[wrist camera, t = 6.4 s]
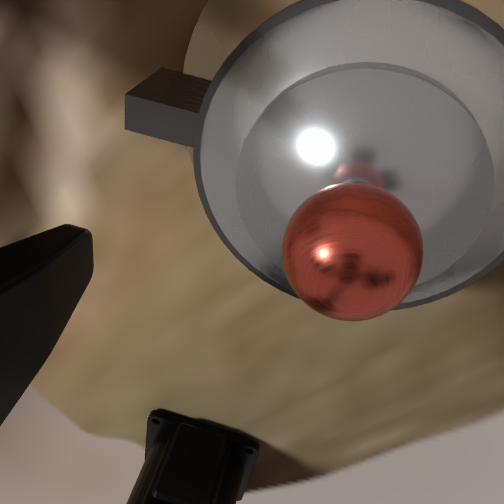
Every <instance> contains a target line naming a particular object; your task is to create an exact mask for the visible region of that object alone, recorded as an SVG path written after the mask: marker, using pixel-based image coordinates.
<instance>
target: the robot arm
mask: <svg viewBox="0 0 504 504" xmlns="http://www.w3.org/2000/svg"><path fill="white" fill-rule="evenodd" d="M93 269H94V263H93V239H92V234H91V232H90V231H89V230H87V229H85V228H81V227H78V226H75V225H71V224H64V225H61V226H58V227H55V228H53V229H50V230H47V231H44V232H42V233H39V234H36V235H33V236H31V237H28V238H25V239H23V240H20V241H17V242H14V243H12V244H9V245H6V246H3V247H1V248H0V426H1V424H2V423H3V422H4V420H5V419H6V417H7V416H8V414H9V413H10V412H11V410H12V408H13V407H14V406H15V404H16V403H17V402H18V400H19V399H20V397H21V396H22V394H23V393H24V391H25V390H26V389H27V387H28V386H29V384H30V383H31V381H32V380H33V379H34V377H35V376H36V374H37V373H38V371H39V370H40V368H41V367H42V366H43V364H44V363H45V361H46V360H47V358H48V356H49V355H50V353H51V352H52V350H53V348H54V346H55V345H56V343H57V341H58V339H59V337H60V336H61V334H62V332H63V330H64V328H65V326H66V324H67V323H68V321H69V319H70V317H71V315H72V313H73V311H74V310H75V308H76V306H77V304H78V302H79V300H80V299H81V297H82V295H83V293H84V291H85V289H86V287H87V286H88V284H89V282H90V280H91V277H92V274H93ZM258 451H259V444H258V443H257V442H255V441H253V440H250V439H247V438H244V437H241V436H237V435H234V434H231V433H228V432H225V431H222V430H218V429H215V428H212V427H209V426H206V425H203V424H199V423H196V422H193V421H190V420H187V419H184V418H180V417H177V416H174V415H171V414H168V413H165V412H161V411H158V410H153V411H151V413H150V415H149V417H148V421H147V435H146V448H145V462H144V465H143V467H142V469H141V471H140V474H139V476H138V478H137V481H136V483H135V485H134V488H133V490H132V492H131V494H130V497H129V499H128V501H127V504H236V501H240V500H241V499H242V497H243V494H244V492H245V489H246V486H247V483H248V480H249V478H250V475H251V472H252V469H253V466H254V463H255V461H256V458H257V455H258Z"/></svg>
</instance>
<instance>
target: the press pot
mask: <svg viewBox="0 0 504 504" xmlns="http://www.w3.org/2000/svg"><path fill="white" fill-rule="evenodd" d="M357 62H379V63H388V64H393V65H399V66H403V67H406V68H409V69H412V70H415V71H418V72H421V73H423V74H425V75H427V76H429V77H431V78H433V79H435V80H437V81H438V82H439V83H441V84H442V85H444V86H445V87H447V88H448V89H450V90H451V91H452V92H453V93H454V94H455V95H456V96H457V97H458V98H459V99H460V100H462V101H463V102H464V104H465V105H466V106H467V108H468V109H469V110H470V111H471V113H472V114H473V115H474V117H475V119H476V121H477V123H478V124H479V126H480V128H481V130H482V132H483V135H484V137H485V139H486V142H487V145H488V148H489V151H490V153H491V156H492V162H493V167H494V186H495V189H494V195H493V202H492V206H491V209H490V212H489V215H488V219H487V221H486V223H485V225H484V227H483V229H482V231H481V233H480V234H479V236H478V237H477V239H476V240H475V242H474V243H473V245H472V246H471V247H470V248H469V249H468V250H467V252H466V253H465V254H464V255H463V256H462V257H461V258H460V259H459V260H457V261H456V262H455V263H454V264H453V265H452V266H451V267H449V268H448V269H446V270H445V271H443V272H442V273H440V274H439V275H437V276H435V277H433V278H431V279H430V280H428V281H426V282H424V283H421V284H419V285H416V286H414V287H413V289H412V290H411V292H410V293H409V294H408V296H407V297H406V298H405V299H404V300H403V301H402V302H401V303H400V304H399V305H398V306H396V307H395V308H393V309H392V310H397V309H404V308H410V307H414V306H418V305H422V304H426V303H430V302H433V301H435V300H438V299H441V298H444V297H446V296H449V295H451V294H453V293H455V292H457V291H459V290H461V289H463V288H466V287H468V286H469V285H471V284H472V283H474V282H476V281H477V280H479V279H480V278H482V277H484V276H485V275H486V274H488V273H489V272H490V271H491V270H493V269H494V268H495V267H496V266H498V265H499V264H500V263H501V262H503V261H504V0H208V1H207V3H206V4H205V6H204V8H203V10H202V12H201V14H200V17H199V19H198V21H197V24H196V26H195V28H194V30H193V33H192V36H191V39H190V43H189V46H188V50H187V53H186V57H185V62H184V69H183V73H181V72H177V71H173V70H169V69H165V68H161V69H159V70H158V71H156V72H155V73H154V74H152V75H151V76H149V77H148V78H147V79H145V80H144V81H143V82H141V83H140V84H138V85H137V86H136V87H134V88H133V89H131V90H130V91H129V92H127V93H126V94H125V129H126V130H130V131H133V132H137V133H141V134H144V135H148V136H152V137H155V138H159V139H163V140H167V141H170V142H174V143H178V144H181V145H185V146H187V148H188V152H189V154H190V157H191V160H192V162H193V165H194V173H195V180H196V184H197V188H198V193H199V196H200V199H201V202H202V204H203V207H204V210H205V212H206V214H207V216H208V218H209V220H210V222H211V224H212V226H213V228H214V230H215V231H216V233H217V234H218V236H219V237H220V238H221V240H222V241H223V243H224V244H225V245H226V247H227V248H228V249H229V250H230V251H231V252H232V253H233V255H234V256H235V257H236V258H237V259H238V260H239V261H240V262H241V263H242V264H244V265H245V266H246V267H247V268H248V269H249V270H250V271H252V272H253V273H254V274H256V275H257V276H258V277H260V278H261V279H262V280H264V281H265V282H267V283H269V284H270V285H272V286H274V287H276V288H277V289H279V290H281V291H283V292H285V293H287V294H290V295H292V296H294V297H296V298H299V296H298V295H297V294H296V293H295V291H294V290H293V288H292V287H291V285H290V283H289V281H288V279H287V277H286V274H285V272H284V271H283V270H282V269H280V268H279V267H278V266H276V265H275V264H274V263H273V262H272V261H271V260H270V259H269V258H267V257H266V256H265V255H264V254H263V252H262V251H261V250H260V249H259V248H258V246H257V245H256V244H255V242H254V241H253V239H252V238H251V236H250V235H249V233H248V231H247V229H246V227H245V225H244V223H243V221H242V218H241V215H240V212H239V209H238V204H237V199H236V191H235V176H236V166H237V162H238V158H239V154H240V151H241V149H242V146H243V144H244V141H245V139H246V137H247V135H248V134H249V132H250V130H251V129H252V127H253V125H254V124H255V122H256V120H257V119H258V117H259V115H260V114H261V113H262V112H263V110H264V109H265V108H266V107H267V105H268V104H269V103H270V102H271V101H272V100H273V99H274V98H275V97H276V96H277V95H279V94H280V93H281V92H282V91H283V90H285V89H286V88H287V87H289V86H290V85H292V84H293V83H294V82H296V81H298V80H300V79H302V78H304V77H306V76H307V75H309V74H312V73H314V72H317V71H320V70H322V69H325V68H328V67H332V66H337V65H341V64H346V63H357ZM299 299H300V298H299ZM390 311H391V310H390Z"/></svg>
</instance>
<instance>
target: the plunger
mask: <svg viewBox="0 0 504 504" xmlns="http://www.w3.org/2000/svg"><path fill="white" fill-rule="evenodd" d="M494 189H495V186H494V167H493V162H492V156H491V153H490V151H489V148H488V145H487V142H486V139H485V137H484V135H483V132H482V130H481V128H480V126H479V124H478V123H477V121H476V119H475V117H474V115H473V114H472V113H471V111H470V110H469V109H468V108H467V106H466V105H465V104H464V102H463V101H462V100H460V99H459V98H458V97H457V96H456V95H455V94H454V93H453V92H452V91H451V90H450V89H448V88H447V87H445V86H444V85H442V84H441V83H439V82H438V81H437V80H435V79H433V78H431V77H429V76H427V75H425V74H423V73H421V72H418V71H415V70H412V69H409V68H406V67H403V66H399V65H393V64H388V63H379V62H357V63H346V64H341V65H337V66H332V67H328V68H325V69H322V70H320V71H317V72H314V73H312V74H309V75H307V76H306V77H304V78H302V79H300V80H298V81H296V82H294V83H293V84H292V85H290V86H289V87H287V88H286V89H285V90H283V91H282V92H281V93H280V94H279V95H277V96H276V97H275V98H274V99H273V100H272V101H271V102H270V103H269V104H268V105H267V107H266V108H265V109H264V110H263V112H262V113H261V114H260V115H259V117H258V119H257V120H256V122H255V124H254V125H253V127H252V129H251V130H250V132H249V134H248V135H247V137H246V139H245V141H244V144H243V146H242V149H241V151H240V154H239V158H238V162H237V166H236V176H235V191H236V199H237V204H238V209H239V212H240V215H241V218H242V221H243V223H244V225H245V227H246V229H247V231H248V233H249V235H250V236H251V238H252V239H253V241H254V242H255V244H256V245H257V246H258V248H259V249H260V250H261V251H262V252H263V254H264V255H265V256H266V257H267V258H269V259H270V260H271V261H272V262H273V263H274V264H275V265H276V266H278V267H279V268H280V269H282V270H283V271H284V272H285V274H286V277H287V279H288V281H289V283H290V285H291V287H292V288H293V290H294V291H295V293H296V294H297V295H298V296H299V298H300V299H301V300H302V301H303V302H304V303H306V304H307V305H308V306H309V307H310V308H312V309H313V310H315V311H317V312H318V313H321V314H323V315H325V316H327V317H330V318H333V319H338V320H343V321H361V320H368V319H372V318H375V317H378V316H381V315H383V314H385V313H387V312H389V311H390V310H392V309H393V308H395V307H396V306H398V305H399V304H400V303H401V302H402V301H403V300H404V299H405V298H406V297H407V296H408V294H409V293H410V292H411V290H412V289H413V287H414V286H416V285H419V284H421V283H424V282H426V281H428V280H430V279H431V278H433V277H435V276H437V275H439V274H440V273H442V272H443V271H445V270H446V269H448V268H449V267H451V266H452V265H453V264H454V263H455V262H456V261H457V260H459V259H460V258H461V257H462V256H463V255H464V254H465V253H466V252H467V250H468V249H469V248H470V247H471V246H472V245H473V243H474V242H475V240H476V239H477V237H478V236H479V234H480V233H481V231H482V229H483V227H484V225H485V223H486V221H487V219H488V215H489V212H490V209H491V206H492V202H493V195H494Z"/></svg>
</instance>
